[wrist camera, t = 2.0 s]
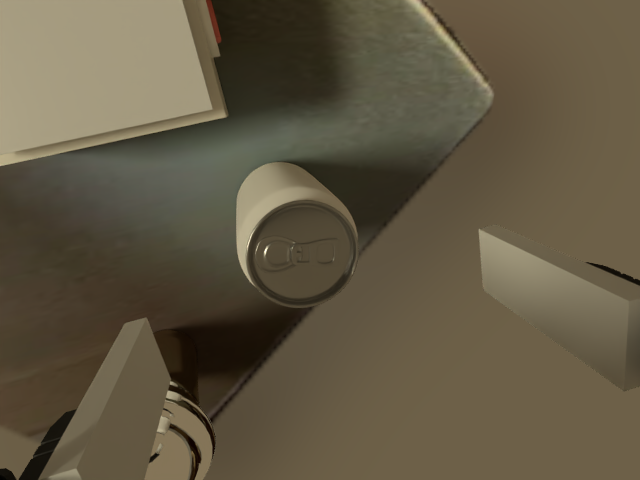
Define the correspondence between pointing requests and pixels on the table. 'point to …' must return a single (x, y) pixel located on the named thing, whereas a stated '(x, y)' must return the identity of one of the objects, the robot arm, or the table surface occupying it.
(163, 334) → the cup with straw
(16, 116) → the scale
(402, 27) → the table surface
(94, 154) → the table surface
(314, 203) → the can
